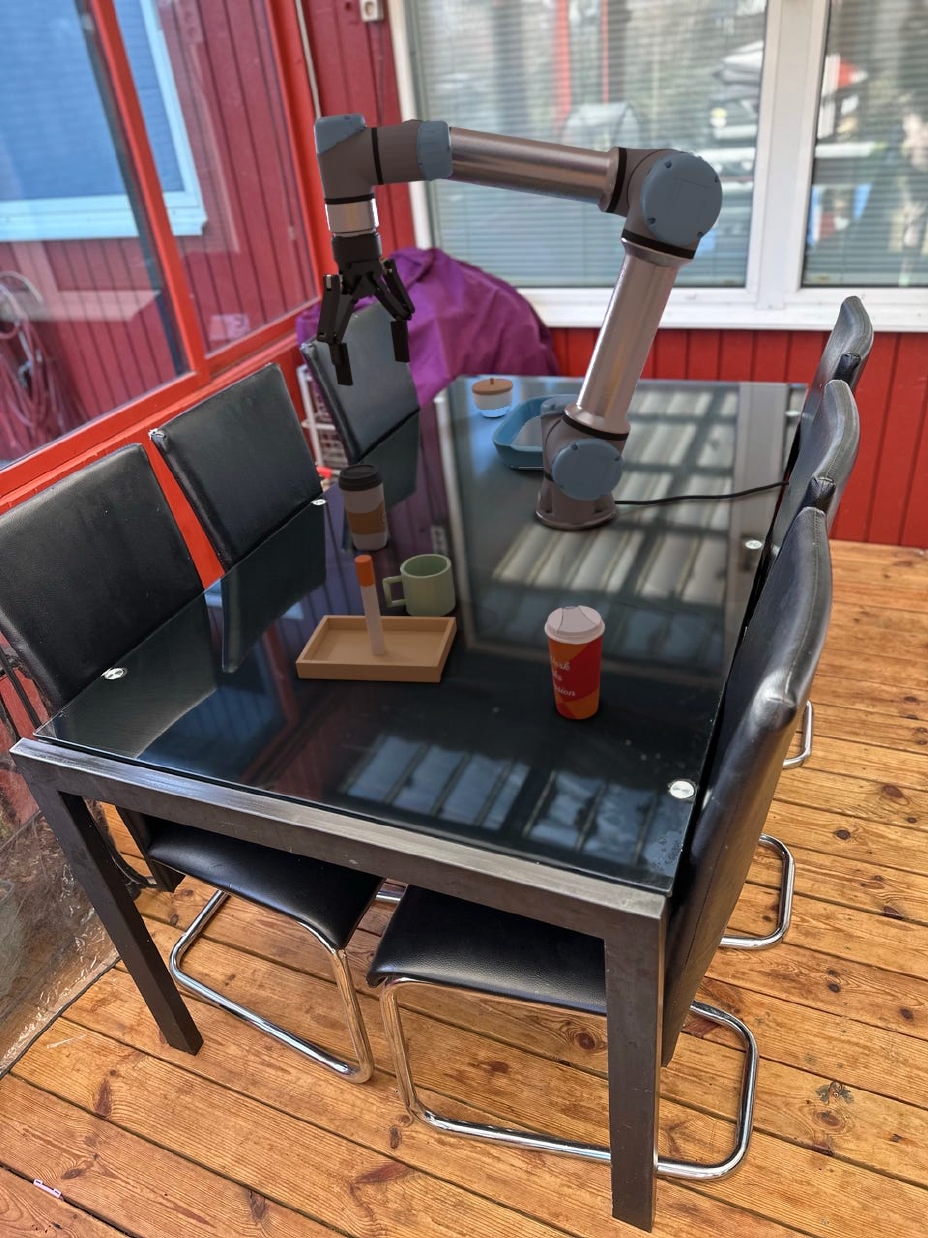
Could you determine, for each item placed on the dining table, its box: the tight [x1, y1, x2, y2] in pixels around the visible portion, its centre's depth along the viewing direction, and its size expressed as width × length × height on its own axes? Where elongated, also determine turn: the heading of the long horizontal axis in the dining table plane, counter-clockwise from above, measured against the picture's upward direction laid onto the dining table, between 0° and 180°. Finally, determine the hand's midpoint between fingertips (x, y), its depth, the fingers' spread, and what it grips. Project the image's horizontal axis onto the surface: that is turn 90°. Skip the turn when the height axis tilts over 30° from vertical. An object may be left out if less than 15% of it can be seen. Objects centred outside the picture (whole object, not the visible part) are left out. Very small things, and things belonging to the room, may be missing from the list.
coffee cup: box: [337, 463, 388, 551], centre depth 166 cm, size 8×8×15 cm
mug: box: [382, 553, 457, 617], centre depth 144 cm, size 11×8×8 cm
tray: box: [295, 614, 458, 683], centre depth 135 cm, size 22×14×3 cm, turn 80°
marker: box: [354, 554, 386, 655], centre depth 131 cm, size 2×2×16 cm
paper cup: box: [544, 605, 606, 720], centre depth 116 cm, size 8×8×14 cm
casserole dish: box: [491, 393, 577, 472], centre depth 202 cm, size 37×22×7 cm, turn 162°
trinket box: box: [470, 377, 514, 410], centre depth 227 cm, size 11×11×9 cm
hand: (375, 372), depth 144 cm, fingers open, 13 cm apart
